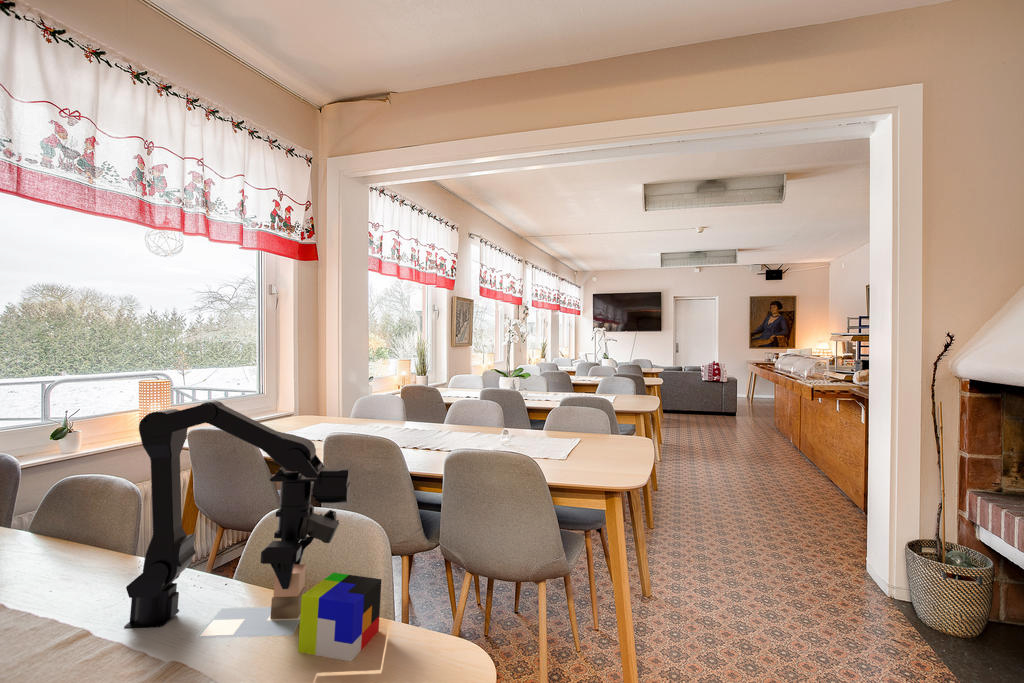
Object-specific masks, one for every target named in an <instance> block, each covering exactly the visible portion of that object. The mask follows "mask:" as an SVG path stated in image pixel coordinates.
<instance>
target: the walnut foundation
mask: <svg viewBox="0 0 1024 683" xmlns="http://www.w3.org/2000/svg"><path fill="white" fill-rule="evenodd" d="M304 593H306V585H304V588H303V589H302V591H301V593H300V594H299V596H298V597H274V594H273V596H272V597H271V603H270V604H271V605H270V607H271V617H270V619H294V618H298V617H299V615H300V613H301V598H302V595H303V594H304Z"/></svg>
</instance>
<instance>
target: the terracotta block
mask: <svg viewBox="0 0 1024 683" xmlns="http://www.w3.org/2000/svg"><path fill="white" fill-rule="evenodd" d="M306 565H307V564H305V563H303V564H302V563H300V564H294V569H293V573H292V577H291V581H290V585H289V588H288V589H282V587H281V585H280V583H279V580H278V578H277V576H276V574H275V573H274V583H273V584H274V586H273V595H274V597H298V596H299V594H300V593H301V591H302V589H303V588H304V586H305V583H306V582H305V578H306Z"/></svg>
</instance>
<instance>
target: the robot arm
mask: <svg viewBox="0 0 1024 683" xmlns="http://www.w3.org/2000/svg"><path fill="white" fill-rule="evenodd" d="M202 424H209V425H210V426H213V427H215V428H217V429H219V430H221V431H223V432H225V433H227V434H228V435H229V434H230V435H231V436H233V437H235V438H237V439H240V440H242V441H244V442H246V443H248V444H250V445H252V446H254V447H256V448H258V449H260V450H262V451H263V452H264V453H266V454H267V455H268V456H269V458H270V459H271V460H272V461H274V462H275V463H276V464H277V465H279V466H280V468H279V469H278V470H277V471H276V473H274V475H273V476H271V477H270V478H269V481H270V482H271V483H272V482H273V483H274V482H276V483H277V482H278V483H279V482H280V492H279V507H278V509H277V510H276V512H275V518H278V519H277V520H278V522H277V530H276V531H274V534H273V535H274V536H273V539H280V540H272V541H271V542H270V543H269V544H268V545H267V546H266V547H264V548H263V550H261V552H260V561H259V562H260V564H262V565H265V564H268V565H270V566H271V568H272V570H273V572H274V575H275V574H276V576H277V578H278V580H279V583H280V585H281V587H282V589H288V588H289V585H290V581H291V577H292V573H293V569H294V564H302V563H301V562H302V560H303V558H304V557H303V556H304V553H305V550H306V548H307V547H308V546H309V545H310V544H312V542H313V541H314V540H315V539H316V540H319V541H321V542H322V543H324V544H330V543H331V542H332V540H333V539H334V537H335V534H336V531H337V529H338V527H339V525H340V522H339V521H340V520H339V519H337V512H336V511H335V510H332V509H328V511H326V512H325V513H324V514H323V513H320V514H318V513H315V512H314V510H315V507H314V506H313V504H311V500H312V498H314V500H315V501H317V502H318V504H349V500H350V495H351V494H350V493H351V485H352V484H351V483H352V482H351V476H350V468H345V467H344V468H336V469H334V468H329V469H328V468H326V467H325V465H324V464H323V462H322V461H321V459H320V458H319V456H317V455H318V454H316V453H317V450H316V449H317V448H316V446H315V443H314V442H313V441H312V440H310V439H308V438H306V437H302V436H298V435H296V434H291V433H285V432H281V431H278V430H275V429H273V428H271V427H269V426H267V425H265V424H263V423H261V422H258V421H257V420H255V419H252V418H250V417H249V416H246V415H244V414H243V413H240V412H239V411H236V410H234V409H232V408H230V407H229V406H226V405H225V404H224V403H223V402H220V401H219V400H211V401H206V402H203V403H201V404H200V405H199V404H198V405H196V406H192V407H189V408H183V409H181V410H180V409H177V408H169V409H168V408H167V409H163V410H158V411H153V412H150V413H147V414H146V415H145V416H144V417H143V418H142V419H140V421H139V424H138V432H139V436H140V441H141V444H142V445H141V446H142V447H143V449H144V451H145V452H146V454H147V456H148V458H149V461H150V483H151V485H150V487H151V518H152V521H151V522H152V525H151V526H152V535H151V539H150V542H149V544H148V547H147V549H146V552H145V554H144V560H143V561H144V562H143V567H142V569H143V570H142V573H140V575H138V576H137V577H136V578H135V579H134V580H132V581H131V582H130V583H129V584H128V585H126V587H125V589H126V593H127V595H128V598H129V599H131V602H130V603H131V604H130V612H129V613H130V614H129V622H127V624H124V626H123V629H149V628H150V629H151V628H153V629H154V628H162V627H164V626H165V625H166V624H167V623H168V622H169V621H170V620H171V619H173V618H174V617H175V616H176V615H177V614H178V613H179V612H180V609H179V598H180V592H179V591H177V587H178V583H176V582H174V581H176V580H177V579H178V578H180V575H181V574H182V573H183V572H184V571H185V570H186V569H187V568H188V567H189V566H190V564H191V563H192V561H193V558H194V556H196V554H197V551H196V548H195V539H196V538H195V537H196V535H195V533H191V534H187V533H186V531H185V530H184V529H183V514H182V513H183V512H182V485H181V482H182V481H181V478H182V477H181V452H182V450H183V448H184V445H185V442H186V440H187V436H188V429H189V428H191V427H196V426H199V425H202ZM312 484H313V488H312Z"/></svg>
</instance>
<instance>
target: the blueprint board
mask: <svg viewBox="0 0 1024 683" xmlns="http://www.w3.org/2000/svg"><path fill="white" fill-rule="evenodd" d="M270 617H271V606H259V607H258V606H257V607H254V606H253V607H222V608H221V609H219V611H218V612H217V613H216V614H215V615H214V616H213V618H212V619H211V620H210V621H209V622H208V623H207V624H206V625H205V627H203V629H202V630H200V632H199V633H198V635H196V637H195V639H216V638H217V639H218V638H219V639H223V638H243V637H245V638H246V637H248V638H249V637H252V638H253V637H276V636H277V637H279V636H280V637H281V636H282V637H283V636H293V635H294V634H295V631H296V630H297V628H298V625H300V615H299V617H298V618H294V619H270Z"/></svg>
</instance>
